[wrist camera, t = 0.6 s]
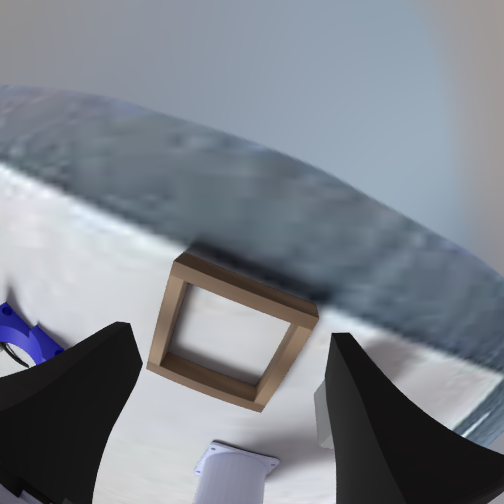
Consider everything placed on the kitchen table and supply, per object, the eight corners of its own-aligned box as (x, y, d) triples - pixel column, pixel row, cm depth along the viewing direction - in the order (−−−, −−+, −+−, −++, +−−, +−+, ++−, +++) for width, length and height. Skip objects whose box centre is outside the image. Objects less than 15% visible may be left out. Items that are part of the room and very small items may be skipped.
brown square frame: (262, 396, 23) (260, 412, 21) (154, 355, 22) (146, 368, 21) (315, 304, 20) (319, 318, 18) (183, 252, 20) (173, 260, 18)
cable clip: (75, 357, 24) (44, 390, 19) (70, 379, 26) (44, 409, 20) (7, 292, 24) (-27, 312, 18) (6, 317, 25) (-24, 338, 19)
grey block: (351, 403, 22) (362, 452, 16) (313, 394, 22) (318, 446, 16) (375, 372, 21) (394, 422, 15) (336, 361, 21) (349, 414, 15)
